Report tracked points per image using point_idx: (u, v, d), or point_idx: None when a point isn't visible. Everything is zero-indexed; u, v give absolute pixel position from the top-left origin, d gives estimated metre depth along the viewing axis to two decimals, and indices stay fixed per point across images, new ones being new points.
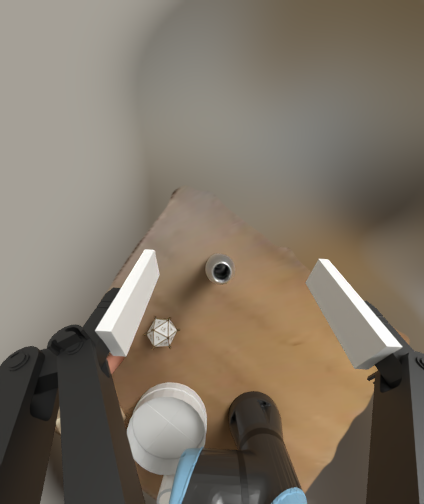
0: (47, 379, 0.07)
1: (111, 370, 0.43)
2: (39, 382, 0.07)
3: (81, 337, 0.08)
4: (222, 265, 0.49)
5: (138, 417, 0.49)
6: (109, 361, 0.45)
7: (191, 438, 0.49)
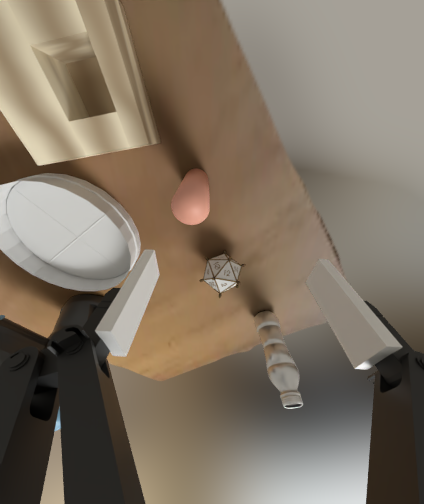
0: (47, 379, 0.07)
1: None
2: (39, 382, 0.07)
3: (81, 337, 0.08)
4: None
5: None
6: None
7: (57, 258, 0.34)
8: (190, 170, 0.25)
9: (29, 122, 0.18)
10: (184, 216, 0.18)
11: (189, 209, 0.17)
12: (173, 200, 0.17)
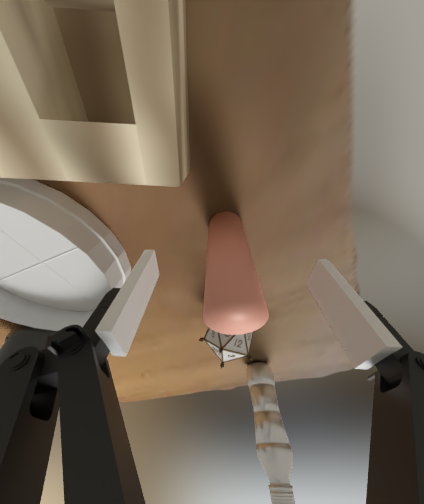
0: (47, 379, 0.07)
1: None
2: (38, 382, 0.07)
3: (81, 337, 0.08)
4: None
5: None
6: None
7: (8, 280, 0.24)
8: (223, 214, 0.18)
9: None
10: (220, 325, 0.11)
11: (231, 319, 0.10)
12: (210, 307, 0.10)
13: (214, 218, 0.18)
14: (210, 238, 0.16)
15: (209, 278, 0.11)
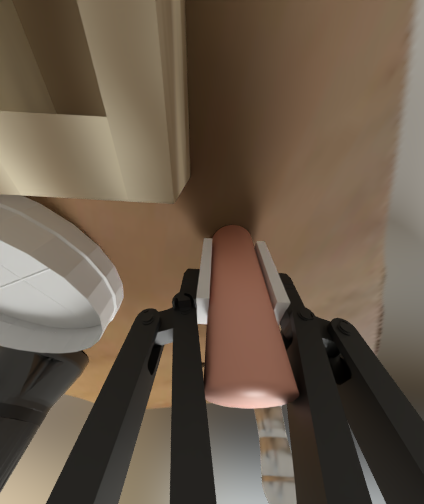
0: (166, 334, 0.09)
1: None
2: (160, 336, 0.09)
3: None
4: None
5: None
6: None
7: None
8: (229, 229, 0.15)
9: None
10: (227, 401, 0.08)
11: (244, 397, 0.07)
12: (214, 387, 0.06)
13: (218, 234, 0.15)
14: (213, 262, 0.13)
15: (212, 330, 0.08)
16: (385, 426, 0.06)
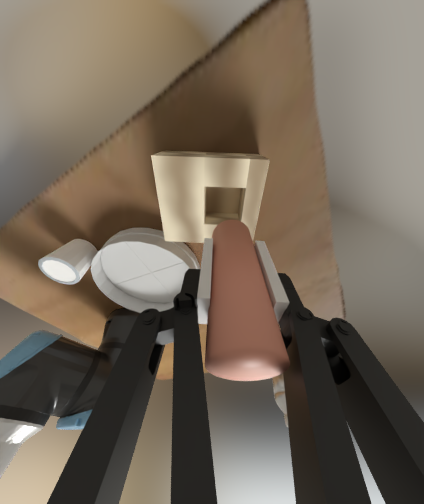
0: (167, 334, 0.09)
1: None
2: (161, 335, 0.09)
3: None
4: None
5: None
6: None
7: (125, 283, 0.40)
8: (228, 224, 0.16)
9: (176, 219, 0.24)
10: (226, 372, 0.09)
11: (241, 367, 0.08)
12: (215, 356, 0.07)
13: (218, 228, 0.16)
14: (214, 253, 0.13)
15: (213, 310, 0.09)
16: (384, 426, 0.06)
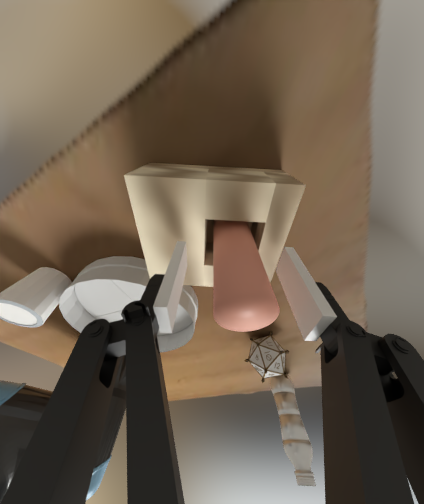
0: (117, 346, 0.08)
1: None
2: (110, 348, 0.08)
3: (143, 312, 0.09)
4: None
5: None
6: None
7: (107, 316, 0.33)
8: None
9: (165, 259, 0.17)
10: (230, 322, 0.11)
11: (242, 316, 0.10)
12: (221, 303, 0.10)
13: None
14: (216, 236, 0.16)
15: (218, 275, 0.11)
16: None
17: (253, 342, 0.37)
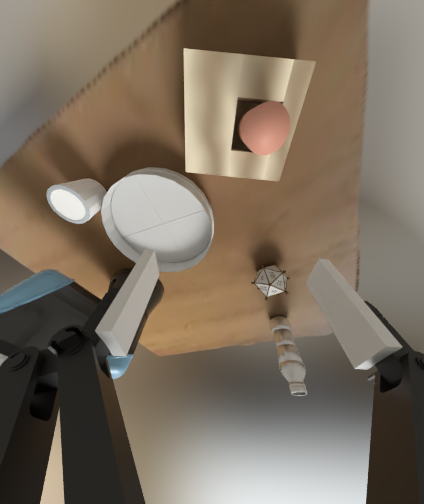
0: (46, 379, 0.07)
1: None
2: (38, 382, 0.07)
3: (81, 337, 0.08)
4: None
5: (187, 190, 0.31)
6: None
7: (134, 236, 0.38)
8: None
9: (201, 142, 0.22)
10: (255, 141, 0.16)
11: (264, 132, 0.15)
12: (252, 114, 0.15)
13: None
14: (243, 117, 0.21)
15: (248, 114, 0.16)
16: None
17: (258, 271, 0.42)
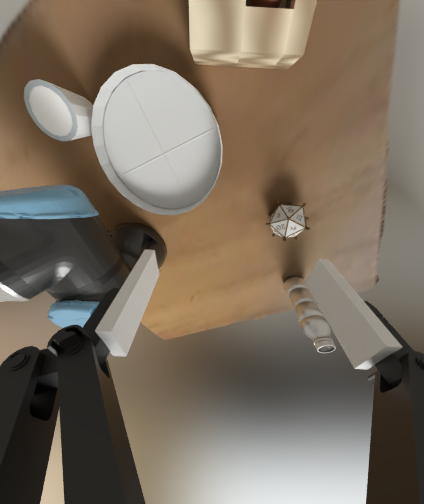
0: (47, 379, 0.07)
1: None
2: (38, 382, 0.07)
3: (81, 337, 0.08)
4: None
5: (190, 101, 0.27)
6: None
7: (131, 173, 0.34)
8: None
9: None
10: None
11: None
12: None
13: None
14: None
15: None
16: None
17: (273, 213, 0.37)
